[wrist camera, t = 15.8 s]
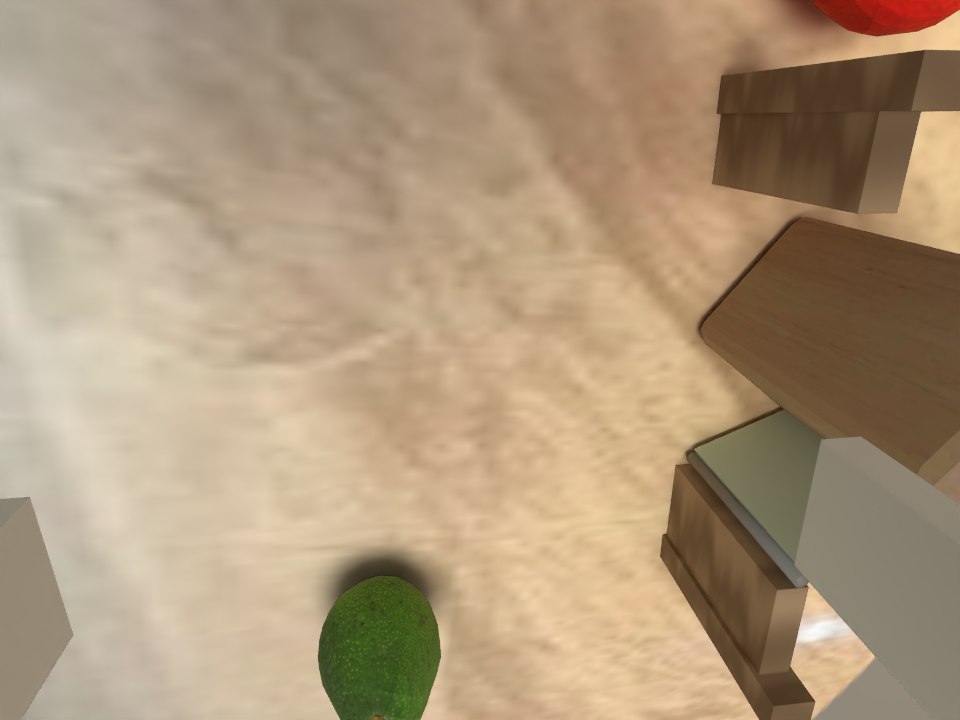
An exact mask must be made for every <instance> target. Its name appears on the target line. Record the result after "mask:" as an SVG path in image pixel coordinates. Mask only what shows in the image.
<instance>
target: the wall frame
mask: <svg viewBox="0 0 960 720" xmlns="http://www.w3.org/2000/svg"><path fill="white" fill-rule="evenodd" d="M921 111H960V51H956V50H921V51H914V52H906V53H898V54H890V55H883V56H875V57H867V58H859V59H852V60H844V61H836V62H828V63H821V64H813V65H805V66H797V67H789V68H782V69H774V70H766V71H758V72H751V73H743V74H735V75H727V76H722V77H721V85H720V93H719V101H718V109H717V114H722V115H721V123H720V131H719V138H718V146H717V154H716V161H715V169H714V177H713V184H716V185H721V186H725V187H730V188H735V189H740V190H745V191H750V192H755V193H759V194H764V195H769V196H774V197H779V198H784V199H789V200H793V201H798V202H803V203H808V204H813V205H818V206H823V207H827V208H832V209H837V210H842V211H847V212H852V213H856V214H873V213H897V211H898V207H899V202H900V198H901V194H902V190H903V185H904V181H905V177H906V173H907V168H908V164H909V160H910V156H911V152H912V147H913V143H914V139H915V135H916V130H917V126H918V122H919V118H920V113H921ZM660 557H661V558H662V560H663V562H664V563H665V565H666V566H667V568H668V570H669V571H670V573H671V575H672V576H673V578H674V580H675V581H676V583H677V585H678V586H679V588H680V590H681V591H682V593H683V595H684V596H685V598H686V599H687V601H688V603H689V604H690V606H691V608H692V609H693V611H694V613H695V614H696V616H697V618H698V619H699V621H700V623H701V624H702V626H703V628H704V629H705V631H706V632H707V634H708V636H709V637H710V639H711V641H712V642H713V644H714V646H715V647H716V649H717V651H718V652H719V654H720V656H721V657H722V659H723V661H724V662H725V664H726V665H727V667H728V669H729V670H730V672H731V674H732V675H733V677H734V679H735V680H736V682H737V684H738V685H739V687H740V689H741V690H742V692H743V694H744V695H745V697H746V698H747V700H748V702H749V703H750V705H751V707H752V708H753V710H754V712H755V713H756V715H757V717H758V718H759V720H811V716H812V712H813V709H814V705H815V700H814V699H813V698H812V696H811V695H810V693H809V692H808V691H807V689H806V688H805V687H804V685H803V684H802V682H801V681H800V680H799V678H798V677H797V675H796V674H795V673H794V671H793V670H792V668H791V667H790V664H791V660H792V656H793V651H794V647H795V643H796V639H797V635H798V630H799V626H800V622H801V618H802V613H803V609H804V605H805V601H806V596H807V592H808V588H809V587H808V586H807V585H806V586H804V587H802V588H798V587H796V586H795V585H794V584H793V583H792V582H791V580H790V579H789V578H788V577H787V576H786V575H785V573H784V572H783V571H782V570H781V569H780V568H779V566H778V565H777V564H776V563H775V562H774V561H773V559H772V558H771V557H770V556H769V555H768V554H767V552H766V551H765V550H764V549H763V548H762V547H761V545H760V544H759V543H758V542H757V541H756V540H755V538H754V537H753V536H752V535H751V534H750V533H749V531H748V530H747V529H746V528H745V527H744V526H743V524H742V523H741V522H740V521H739V520H738V519H737V517H736V516H735V515H734V514H733V513H732V512H731V510H730V509H729V508H728V507H727V506H726V505H725V503H724V502H723V501H722V500H721V499H720V498H719V496H718V495H717V494H716V493H715V492H714V490H713V489H712V488H711V487H710V486H709V485H708V483H707V482H706V481H705V480H704V479H703V478H702V476H701V475H700V474H699V473H698V472H697V471H696V469H695V468H694V467H693V466H692V465H691V464H688V465H676V468H675V476H674V484H673V491H672V499H671V507H670V514H669V522H668V530H667V534H665V535H663V540H662V547H661V555H660Z"/></svg>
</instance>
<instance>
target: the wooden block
mask: <svg viewBox="0 0 960 720" xmlns="http://www.w3.org/2000/svg"><path fill="white" fill-rule="evenodd" d="M700 332H701V334H702V337H703V339H704V341H705V343H706V344H707V345H708V346H709V347H710V348H712V349H713V350H714V351H715V352H716V353H718V354H719V355H720V356H721V357H722V358H724V359H725V360H726V361H727V362H728V363H730V364H731V365H732V366H733V367H734V368H735V369H737V370H738V371H739V372H740V373H741V374H743V375H744V376H745V377H746V378H747V379H749V380H750V381H751V382H752V383H753V384H754V385H756V386H757V387H758V388H759V389H760V390H762V391H763V392H764V393H765V394H766V395H768V396H769V397H770V398H771V399H772V400H774V401H775V402H776V403H777V404H778V405H779V406H781V407H782V408H783V409H785V410H786V411H787V412H789V413H790V414H791V415H793V416H794V417H795V418H797V419H798V420H799V421H801V422H802V423H803V424H805V425H806V426H807V427H809V428H810V429H811V430H813V431H814V432H815V433H817V434H818V435H819V436H821V437H822V438H823V439H834V438H848V437H862V438H864V439H865V440H867V441H868V442H870V443H871V444H873V445H874V446H875V447H877V448H878V449H880V450H881V451H883V452H884V453H886V454H887V455H889V456H890V457H891V458H893V459H894V460H896V461H897V462H899V463H900V464H902V465H903V466H904V467H906V468H907V469H909V470H910V471H912V472H913V473H915V474H916V475H918V476H919V477H920V478H922V479H923V480H925V481H926V482H928V483H929V484H931V485H932V486H934V487H935V488H936V489H938V490H939V491H941V492H942V493H944V494H945V495H947V496H948V497H950V498H951V499H952V500H954V501H955V502H957V503H958V504H960V254H957V253H953V252H949V251H944V250H940V249H936V248H932V247H928V246H924V245H919V244H915V243H911V242H907V241H903V240H899V239H895V238H890V237H886V236H882V235H878V234H874V233H870V232H865V231H861V230H857V229H853V228H849V227H845V226H840V225H836V224H832V223H828V222H824V221H820V220H815V219H811V218H807V217H806V218H802V219H800V220H798V221H797V222H795V223H794V224H792V225H791V226H790V227H789V228H788V229H787V230H786V231H785V233H784V234H783V235H782V236H781V237H780V238H779V239H778V240H777V241H776V243H775V244H774V245H773V246H772V247H771V248H770V249H769V250H768V251H767V253H766V254H765V255H764V256H763V257H762V258H761V259H760V260H759V261H758V263H757V264H756V265H755V266H754V267H753V268H752V269H751V270H750V271H749V273H748V274H747V275H746V276H745V277H744V278H743V279H742V280H741V281H740V283H739V284H738V285H737V286H736V287H735V288H734V289H733V290H732V291H731V293H730V294H729V295H728V296H727V297H726V298H725V299H724V300H723V301H722V303H721V304H720V305H719V306H718V307H717V308H716V309H715V310H714V311H713V313H712V314H711V315H710V316H709V317H708V318H707V319H706V320H705V321H704V323H703V325H702V327H701V329H700Z"/></svg>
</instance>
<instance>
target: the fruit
mask: <svg viewBox="0 0 960 720" xmlns="http://www.w3.org/2000/svg"><path fill="white" fill-rule="evenodd" d="M440 658H441V650H440V639H439V631H438V624H437V622H436V619H435V616H434V614H433V611H432V608H431V606H430V603H429V602H428V601H427V599H426V598H425V597H424V595H423V594H422V593H421V592H420V591H419V590H418V589H417V588H416V587H414V586H413V585H412V584H411V583H409V582H407V581H405V580H403V579H401V578H399V577H395V576H376V577H373V578H370V579H366V580H364V581H362V582H360V583H358V584H357V585H355V586H353V587H352V588H350V589H349V590H347V591H346V592H344V593H343V594H342V595H341V596H340V598H339V599H338V600H337V601H336V602H335V604H334V605H333V607H332V608H331V610H330V612H329V614H328V616H327V618H326V620H325V623H324V625H323V627H322V632H321V636H320V640H319V652H318V662H319V670H320V675H321V680H322V684H323V687H324V689H325V691H326V693H327V695H328V697H329V699H330V701H331V703H332V705H333V706H334V708H335V710H336V712H337V714H338V716H339V718H340V720H420V719H421V717H422V715H423V712H424V710H425V707H426V705H427V702H428V698H429V695H430V692H431V689H432V686H433V683H434V681H435V678H436V675H437V671H438V667H439V662H440Z"/></svg>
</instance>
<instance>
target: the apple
mask: <svg viewBox="0 0 960 720" xmlns="http://www.w3.org/2000/svg"><path fill="white" fill-rule="evenodd" d="M812 1H813V2H814V3H815V4H816V5H817V7H818V8H819V9H820V10H821V11H822V12H824V13H825V14H826V15H827V16H829V17H830V18H831V19H833V20H834V21H835V22H836V23H838V24H839V25H841V26H842V27H844V28H845V29H847V30H849V31H853V32H857V33H861V34H866V35H872V36H884V35H892V34H900V33H909V32H917V31H920V30H922V29H925V28H928V27H931V26H933V25H936V24H937V23H939V22H941V21H942V20H944V19H945V18H947V17H949V16H950V15H952V14H953V13H955V12H957V11H958V10H960V0H812Z"/></svg>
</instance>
